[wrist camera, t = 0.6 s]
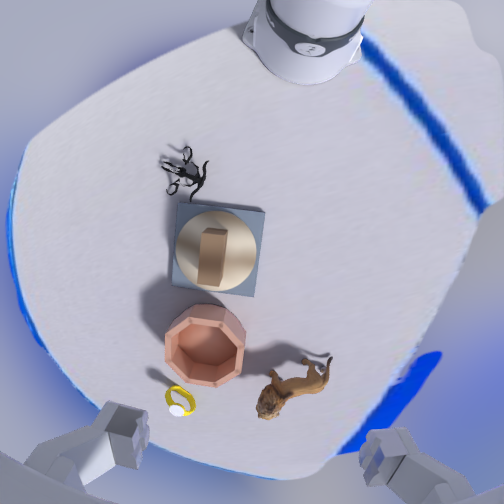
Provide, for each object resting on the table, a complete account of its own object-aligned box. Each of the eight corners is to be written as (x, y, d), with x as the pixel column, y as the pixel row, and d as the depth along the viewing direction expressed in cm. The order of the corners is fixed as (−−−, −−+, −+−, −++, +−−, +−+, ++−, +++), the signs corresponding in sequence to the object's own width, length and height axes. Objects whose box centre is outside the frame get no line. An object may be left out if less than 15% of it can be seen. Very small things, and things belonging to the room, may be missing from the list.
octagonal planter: (175, 298, 50) (165, 312, 45) (248, 308, 51) (247, 324, 45) (173, 360, 53) (164, 378, 47) (240, 370, 53) (238, 390, 47)
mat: (179, 202, 47) (177, 202, 46) (265, 212, 47) (265, 213, 46) (173, 283, 50) (171, 285, 49) (253, 294, 50) (253, 297, 49)
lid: (180, 206, 46) (170, 209, 40) (261, 216, 46) (261, 220, 41) (174, 283, 49) (164, 296, 43) (251, 293, 49) (250, 308, 43)
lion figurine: (264, 398, 54) (265, 430, 46) (250, 378, 54) (248, 410, 45) (337, 365, 53) (349, 394, 44) (325, 343, 52) (336, 371, 43)
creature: (158, 188, 48) (200, 208, 47) (140, 186, 43) (185, 208, 42) (177, 142, 46) (221, 160, 45) (161, 135, 41) (208, 153, 40)
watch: (168, 386, 55) (158, 403, 49) (176, 378, 54) (166, 395, 48) (192, 405, 55) (184, 424, 49) (201, 398, 55) (193, 416, 49)
